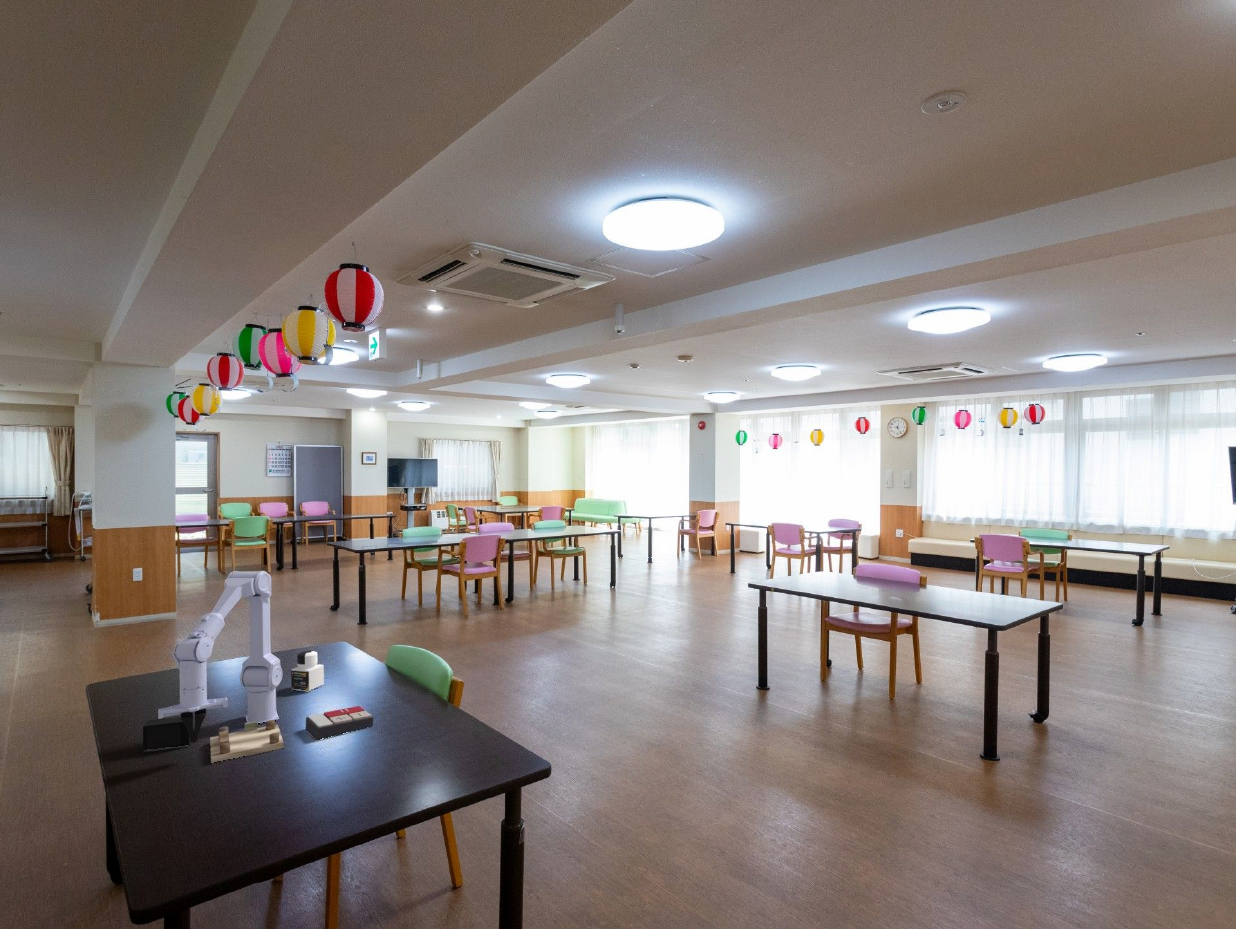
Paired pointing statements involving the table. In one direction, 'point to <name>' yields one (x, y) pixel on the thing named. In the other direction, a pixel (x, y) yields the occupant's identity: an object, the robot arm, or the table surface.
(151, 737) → the digital camera
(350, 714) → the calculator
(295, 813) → the table surface
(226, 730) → the folding leg
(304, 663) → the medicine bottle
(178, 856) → the table surface
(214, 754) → the stool seat
